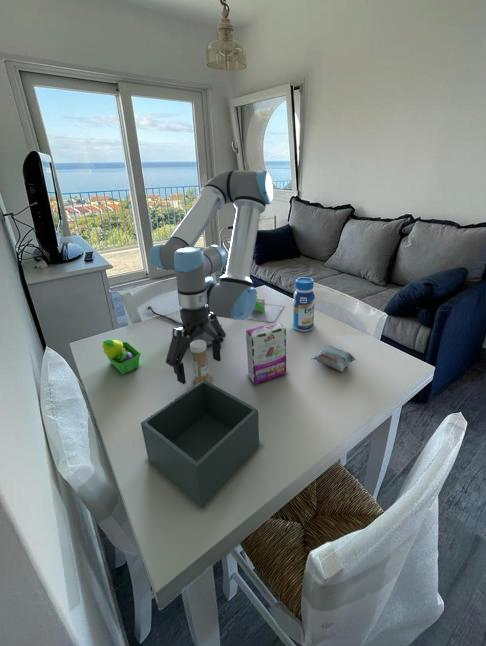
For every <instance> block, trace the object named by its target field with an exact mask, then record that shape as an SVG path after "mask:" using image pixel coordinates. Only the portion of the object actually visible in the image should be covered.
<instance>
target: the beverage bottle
mask: <svg viewBox="0 0 486 646" xmlns="http://www.w3.org/2000/svg"><path fill="white" fill-rule="evenodd" d="M314 283H315V282H314V279H313V278H311V277H303V276H302V277H298V278H296V279H295V291H294V293H293V301H292V305H293V308H292V309H293V310H292V312H293V317H292V318H293V320H292V321H293V322H292V326H293V329H294V330H296V331H299V332H309V331H311V330H313V328H314V325H315V323H314V321H315V307H316V306H315V305H316V301H315V298H316V296H315V292H314V291H313V290H314Z"/></svg>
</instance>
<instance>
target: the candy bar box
mask: <svg viewBox="0 0 486 646" xmlns="http://www.w3.org/2000/svg"><path fill="white" fill-rule="evenodd" d="M245 339H246V340H245V341H246V352H247V353H246V356H247V373H248V377H249V379H250V380H251V381H252V383H253V384H254V385H257V384H260V383H264V382H266V381H269V380H272V379H275V378H277V377H280V376H283V375H286V374H287V328H286V327H285V326H284V325H283V324H282V323H280V321H276V322H271V323H269V324H265V325H261V326H257V327H254V328H253V327H252V328H250V329H246V330H245Z"/></svg>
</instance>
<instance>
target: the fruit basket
mask: <svg viewBox="0 0 486 646" xmlns="http://www.w3.org/2000/svg"><path fill="white" fill-rule="evenodd" d="M102 349H103V353H104V354H105V356H107V359H108V361H109V362H110V363H111V365H113V366H114V368H116V369H117V371H118V372H120V374H122V375H125V374H126V373H129V372H131V371H133V370H135V369H137V368H139V364H140V357H141V352H139V351H138V349H136V348H134V346H132V345H131V344H130V343H129V342H127V341H123V342H122V341H120V340H116V339H112V338H107V339H106V340H103V341H102Z"/></svg>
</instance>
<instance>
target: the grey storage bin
mask: <svg viewBox="0 0 486 646" xmlns="http://www.w3.org/2000/svg"><path fill="white" fill-rule="evenodd" d="M259 423H260V422H259V409H258V408H256V407H255V406H253V405H251V404H249V403H247V402H246V401H243V400H242V399H240V398H238V397H236V396H234V395H233V394H230V393H229V392H227V391H225V390H224V389H221V388H219V387H218V386H216V385H215V384H213V383H211V382H210V381H209V382H207V381H205V380H203V381H201V382H200V383H198V384H197V385H196V384H195V385H193V386H192V387H191V388H190V389H188V390H187V391H185V392H184V393H182V394H180V395H179V396H178V397H176V398H175V399H173V400H172V401H170V402H169V403H167V404H165V406H163V407H161V408H159V410H157V411H156V412H154V413H153V414H151V415H150V416H148V417H147V418H146V419H144V420H143V421H141V422H140V426H141V432H142V436H143V441H144V445H145V446H144V447H145V450H146V456H147V461H148V462H149V463H150V464H151V465H153V467H155V468H156V469H157V470H158V471H160V472H161V473H162V474H163V475H164V476H165V477H166V478H167V479H168V480H169V481H170V482H172V483H173V484H174V485H175V486H176V487H177V488H178V489H180V490H181V491H182V492H183V493H184V494H185V495H186V496H188V498H190V499H191V500H192V501H193V502H194V503H195V504H196V505H198V507H200V508H201V509H203V508H204V507H205V506H206V505H207V504H208V502H209V501H211V499H212V498H213V497H214V496H215V495H216V494H217V493H218V492H219V490H220V489H221V488H223V487H224V485H225V484H226V483H227V482H228V481H229V480H230V479H231V477H233V476H234V474H235V473H236V472H237V471H238V470H239V469H240V468H241V467H242V466H243V465H244V464H245V463H246V461H247V460H248V459H249V458H250V457H251V456H252V455H253V454H254V453H255V452H256V451H257V450H258V449H259V447H260V429H259V427H260V426H259V425H260V424H259Z"/></svg>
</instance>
